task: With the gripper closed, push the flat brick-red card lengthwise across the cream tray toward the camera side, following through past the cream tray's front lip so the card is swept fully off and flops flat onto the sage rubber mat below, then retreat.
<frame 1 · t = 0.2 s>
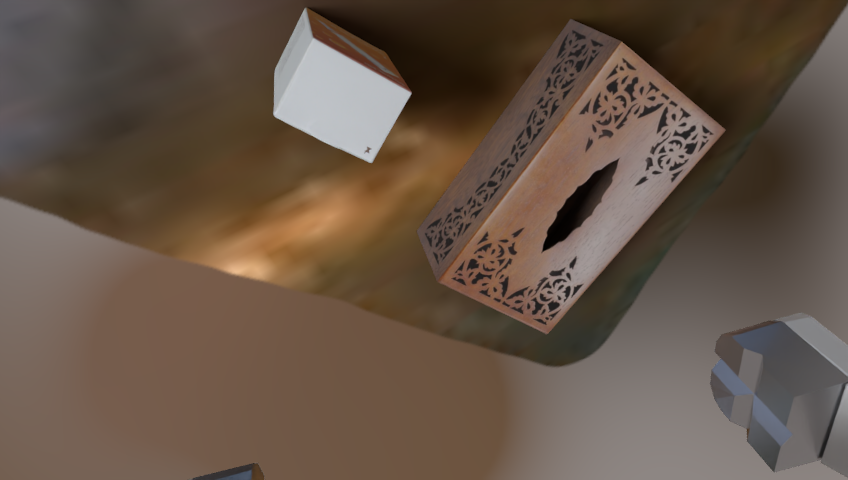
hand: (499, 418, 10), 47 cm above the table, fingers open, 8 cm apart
tissue box cover: (538, 163, 63), on the table
small box: (330, 60, 53), on the table
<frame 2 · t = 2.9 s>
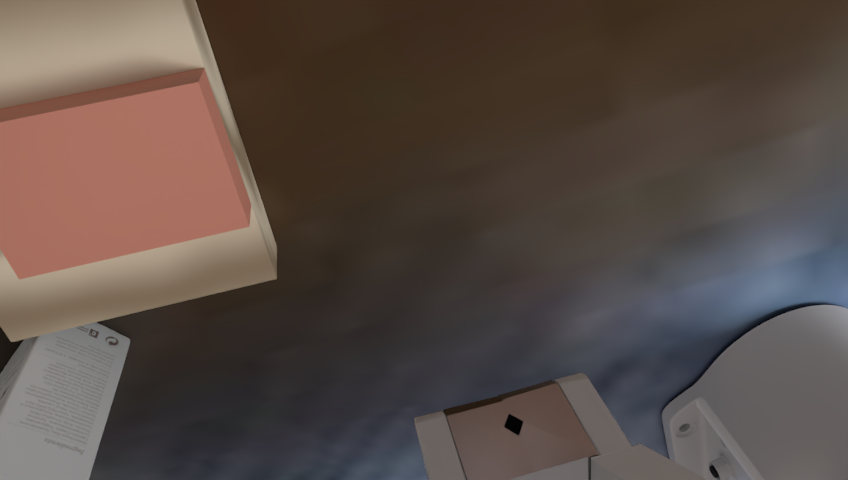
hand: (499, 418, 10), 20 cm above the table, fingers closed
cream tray: (97, 145, 26), on the table
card: (116, 164, 24), point 3 cm above the table, touching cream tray
skincare box: (68, 357, 31), on the table
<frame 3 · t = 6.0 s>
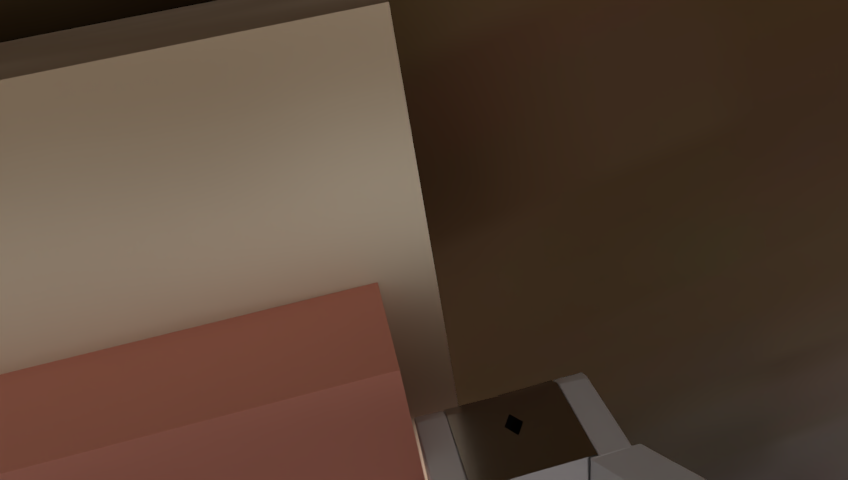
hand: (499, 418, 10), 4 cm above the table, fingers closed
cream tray: (155, 372, 13), on the table
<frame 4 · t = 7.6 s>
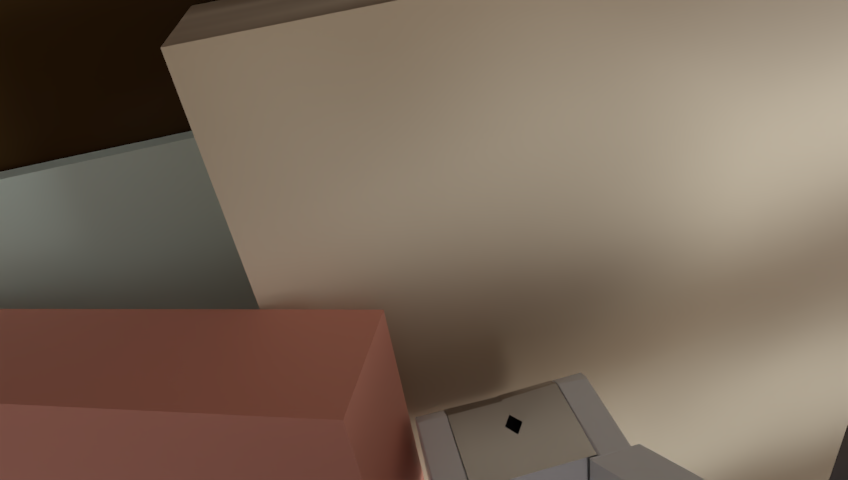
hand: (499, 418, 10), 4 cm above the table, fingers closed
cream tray: (556, 268, 14), on the table
mat: (72, 390, 13), on the table
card: (184, 432, 11), point 2 cm above the table, tilted 23°, touching gripper
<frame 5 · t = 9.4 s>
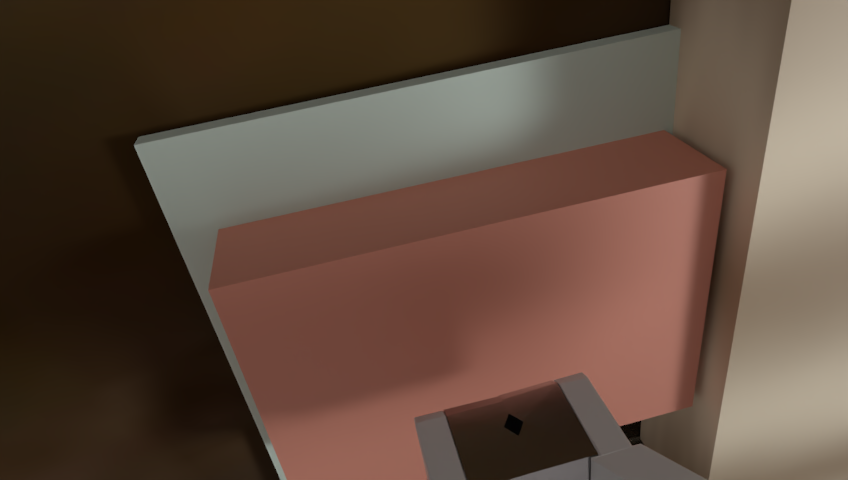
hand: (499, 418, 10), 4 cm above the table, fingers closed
mat: (449, 293, 14), on the table
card: (465, 298, 13), resting on mat
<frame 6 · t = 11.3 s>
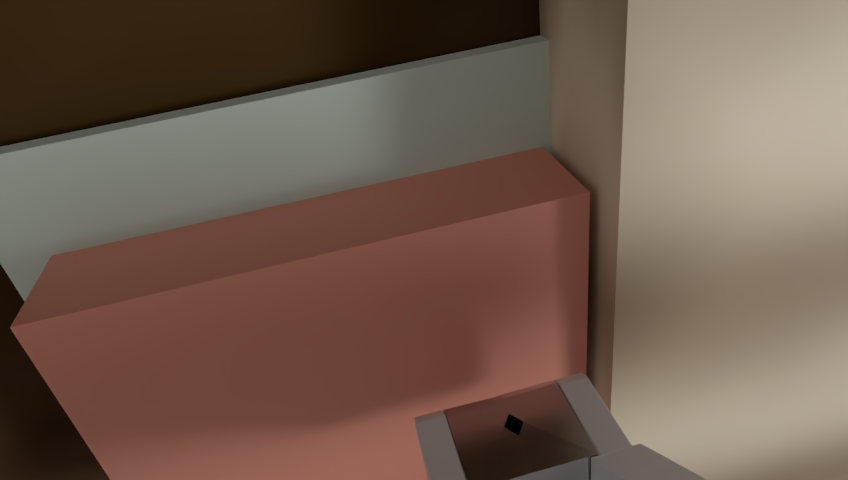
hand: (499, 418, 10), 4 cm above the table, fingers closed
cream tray: (787, 201, 14), on the table
mat: (328, 318, 13), on the table
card: (342, 323, 12), resting on mat
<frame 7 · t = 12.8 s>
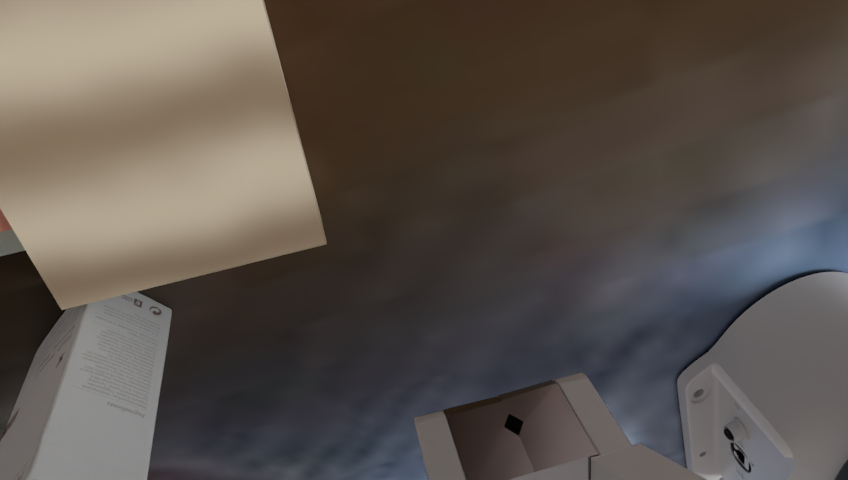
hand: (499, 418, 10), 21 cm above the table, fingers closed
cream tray: (148, 110, 26), on the table
skincare box: (107, 329, 31), on the table
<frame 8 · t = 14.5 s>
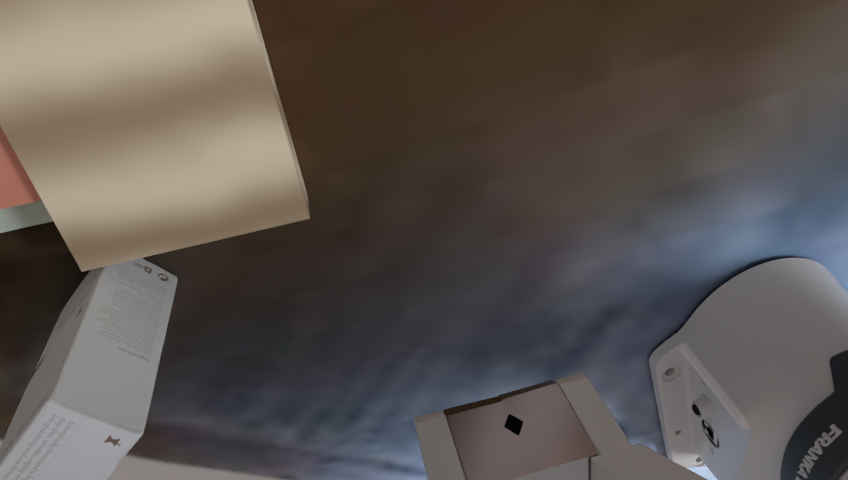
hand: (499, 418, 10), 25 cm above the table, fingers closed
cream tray: (156, 100, 30), on the table
skincare box: (122, 294, 36), on the table
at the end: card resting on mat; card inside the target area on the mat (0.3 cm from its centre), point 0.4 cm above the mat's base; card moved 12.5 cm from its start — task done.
